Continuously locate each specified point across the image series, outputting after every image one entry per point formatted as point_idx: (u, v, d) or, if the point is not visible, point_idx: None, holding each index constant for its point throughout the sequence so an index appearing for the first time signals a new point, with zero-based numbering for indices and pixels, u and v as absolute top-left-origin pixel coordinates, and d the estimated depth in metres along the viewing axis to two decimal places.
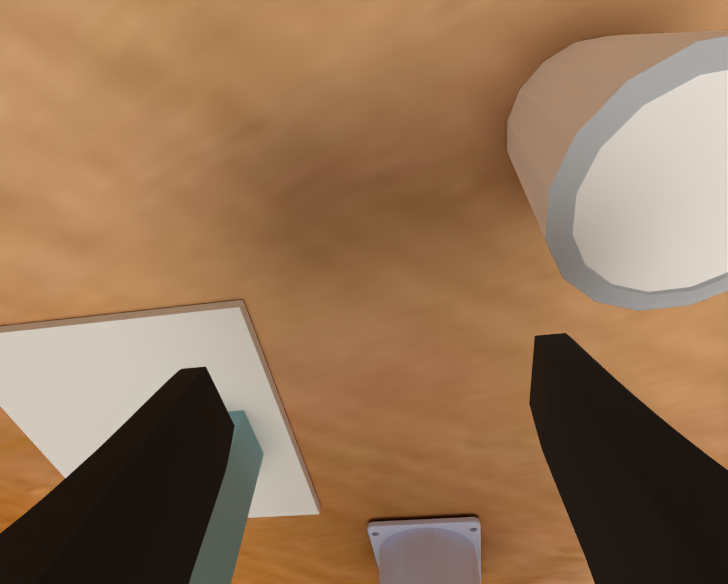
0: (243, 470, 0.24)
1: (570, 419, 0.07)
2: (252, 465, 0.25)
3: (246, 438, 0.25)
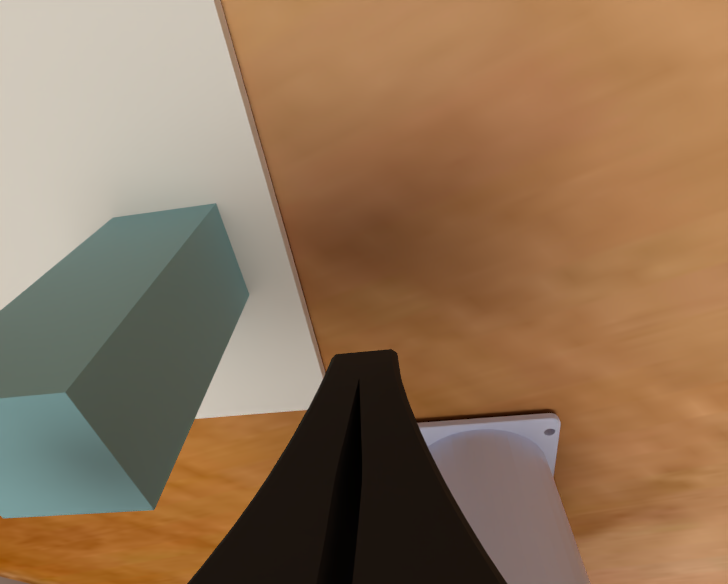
0: (213, 288, 0.15)
1: None
2: (229, 294, 0.16)
3: (220, 247, 0.16)
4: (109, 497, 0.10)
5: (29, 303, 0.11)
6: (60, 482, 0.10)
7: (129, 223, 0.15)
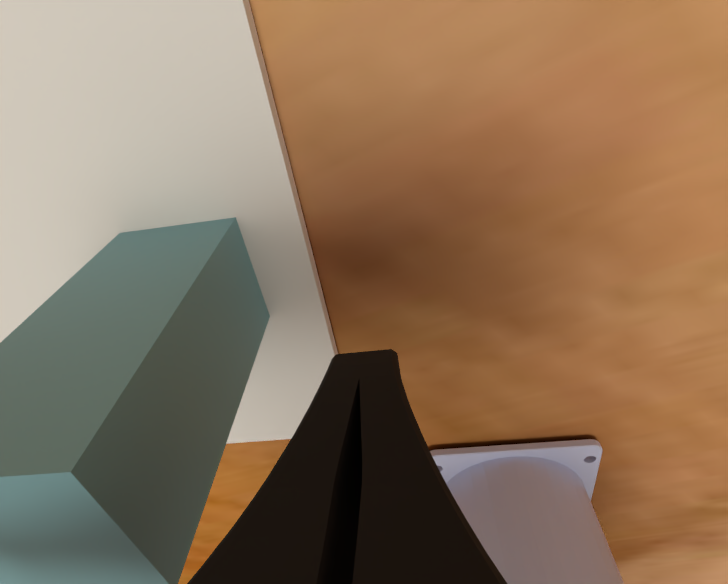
0: (234, 314, 0.13)
1: None
2: (250, 318, 0.14)
3: (240, 267, 0.14)
4: (122, 578, 0.09)
5: (26, 341, 0.10)
6: (64, 563, 0.08)
7: (138, 240, 0.14)
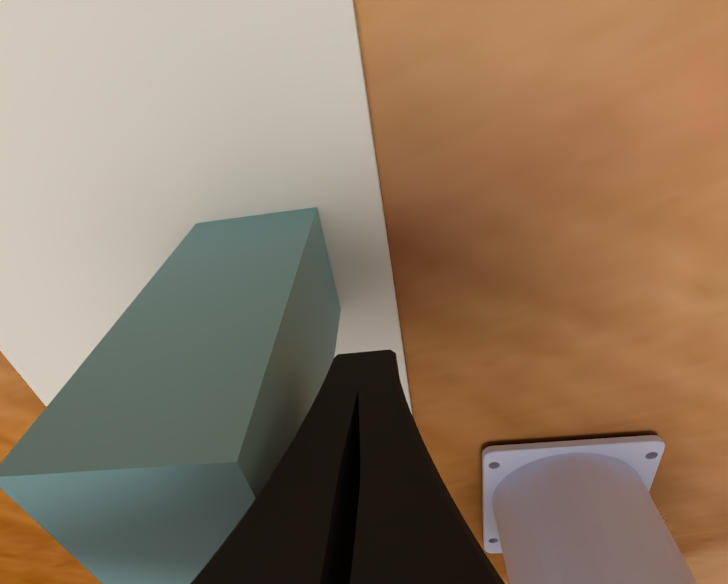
0: (321, 305, 0.13)
1: None
2: (330, 310, 0.14)
3: (322, 257, 0.14)
4: None
5: (136, 330, 0.10)
6: (196, 558, 0.08)
7: (220, 230, 0.13)
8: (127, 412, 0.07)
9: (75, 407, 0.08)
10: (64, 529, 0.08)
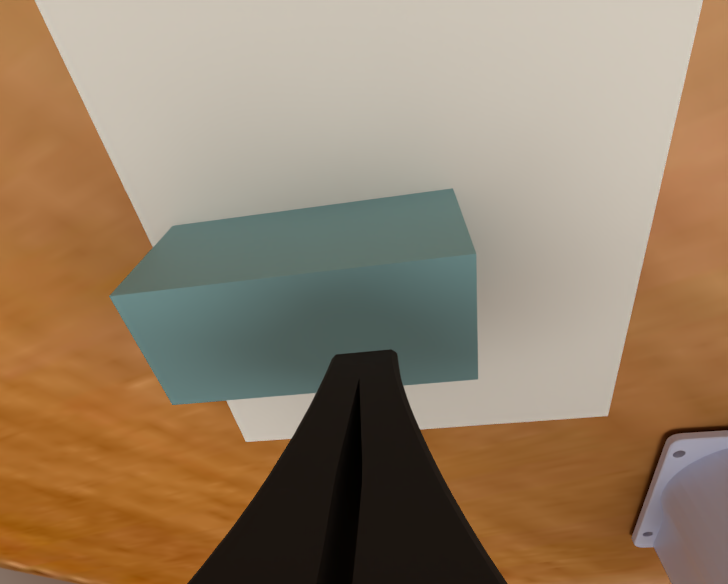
0: (381, 333, 0.11)
1: None
2: (419, 355, 0.12)
3: (438, 304, 0.11)
4: None
5: (270, 221, 0.13)
6: None
7: (428, 206, 0.12)
8: (184, 247, 0.13)
9: (204, 229, 0.14)
10: None
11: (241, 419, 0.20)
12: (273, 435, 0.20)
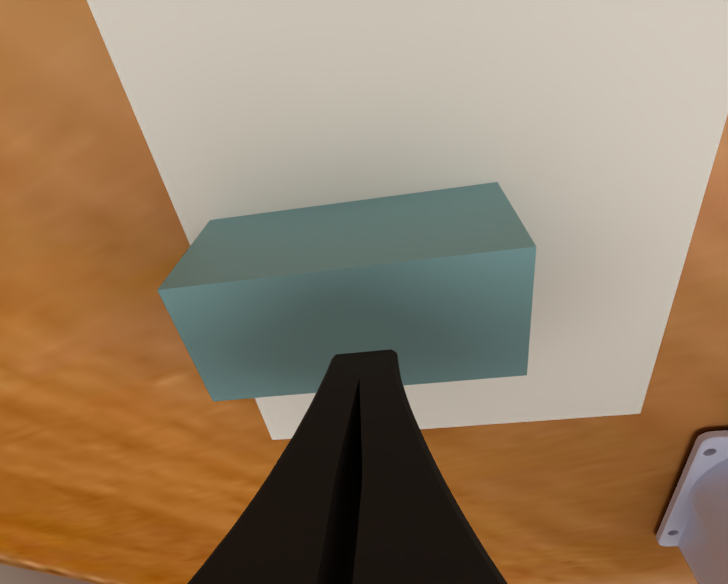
0: (432, 328, 0.11)
1: None
2: (469, 350, 0.12)
3: (493, 298, 0.11)
4: None
5: (312, 215, 0.13)
6: None
7: (475, 199, 0.12)
8: (227, 241, 0.13)
9: (244, 223, 0.13)
10: None
11: (269, 417, 0.19)
12: None
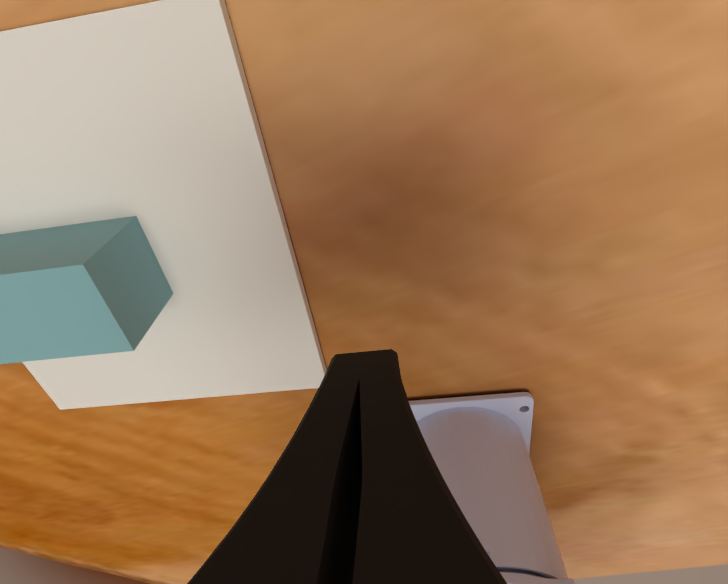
0: (51, 317, 0.17)
1: None
2: (84, 333, 0.17)
3: (77, 298, 0.16)
4: None
5: (6, 239, 0.19)
6: None
7: (104, 229, 0.18)
8: None
9: None
10: None
11: (49, 390, 0.25)
12: (80, 404, 0.25)
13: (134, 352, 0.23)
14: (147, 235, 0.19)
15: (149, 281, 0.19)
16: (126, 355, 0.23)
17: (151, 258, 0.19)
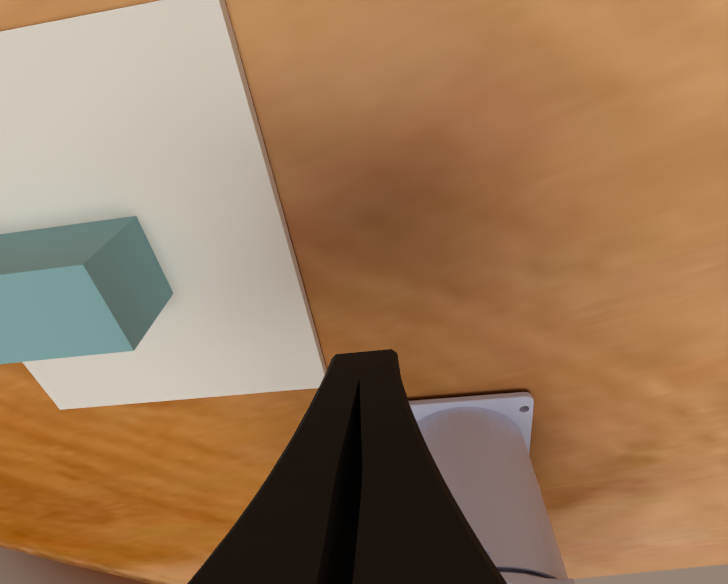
0: (51, 317, 0.17)
1: None
2: (84, 333, 0.17)
3: (77, 298, 0.16)
4: None
5: (6, 239, 0.19)
6: None
7: (104, 229, 0.18)
8: None
9: None
10: None
11: (49, 390, 0.25)
12: (80, 404, 0.25)
13: (134, 352, 0.23)
14: (147, 235, 0.19)
15: (149, 281, 0.19)
16: (126, 355, 0.23)
17: (151, 258, 0.19)
